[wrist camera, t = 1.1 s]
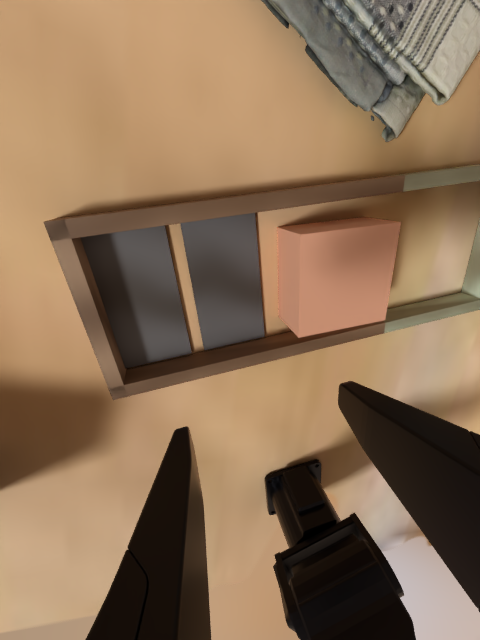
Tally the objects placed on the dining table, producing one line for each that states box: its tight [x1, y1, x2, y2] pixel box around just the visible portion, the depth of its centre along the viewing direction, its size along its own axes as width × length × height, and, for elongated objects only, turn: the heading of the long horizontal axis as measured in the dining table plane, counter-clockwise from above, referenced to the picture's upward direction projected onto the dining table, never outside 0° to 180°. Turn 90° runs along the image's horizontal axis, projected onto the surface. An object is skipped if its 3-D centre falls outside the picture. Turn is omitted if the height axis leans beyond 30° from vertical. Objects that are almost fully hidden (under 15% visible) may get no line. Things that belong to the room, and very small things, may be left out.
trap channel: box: [44, 164, 480, 400], centre depth 21 cm, size 12×34×4 cm, turn 96°
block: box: [277, 217, 401, 338], centre depth 21 cm, size 7×7×4 cm
